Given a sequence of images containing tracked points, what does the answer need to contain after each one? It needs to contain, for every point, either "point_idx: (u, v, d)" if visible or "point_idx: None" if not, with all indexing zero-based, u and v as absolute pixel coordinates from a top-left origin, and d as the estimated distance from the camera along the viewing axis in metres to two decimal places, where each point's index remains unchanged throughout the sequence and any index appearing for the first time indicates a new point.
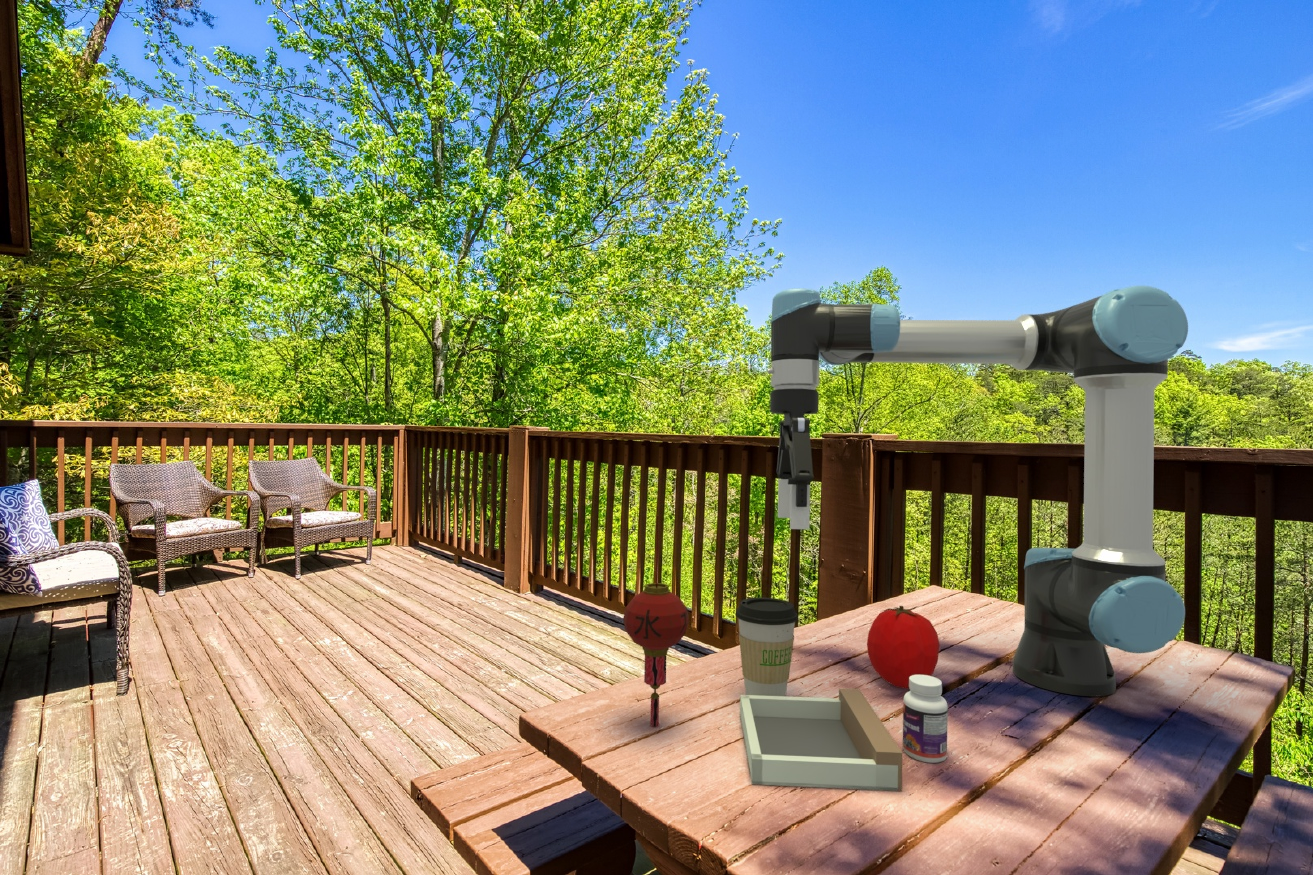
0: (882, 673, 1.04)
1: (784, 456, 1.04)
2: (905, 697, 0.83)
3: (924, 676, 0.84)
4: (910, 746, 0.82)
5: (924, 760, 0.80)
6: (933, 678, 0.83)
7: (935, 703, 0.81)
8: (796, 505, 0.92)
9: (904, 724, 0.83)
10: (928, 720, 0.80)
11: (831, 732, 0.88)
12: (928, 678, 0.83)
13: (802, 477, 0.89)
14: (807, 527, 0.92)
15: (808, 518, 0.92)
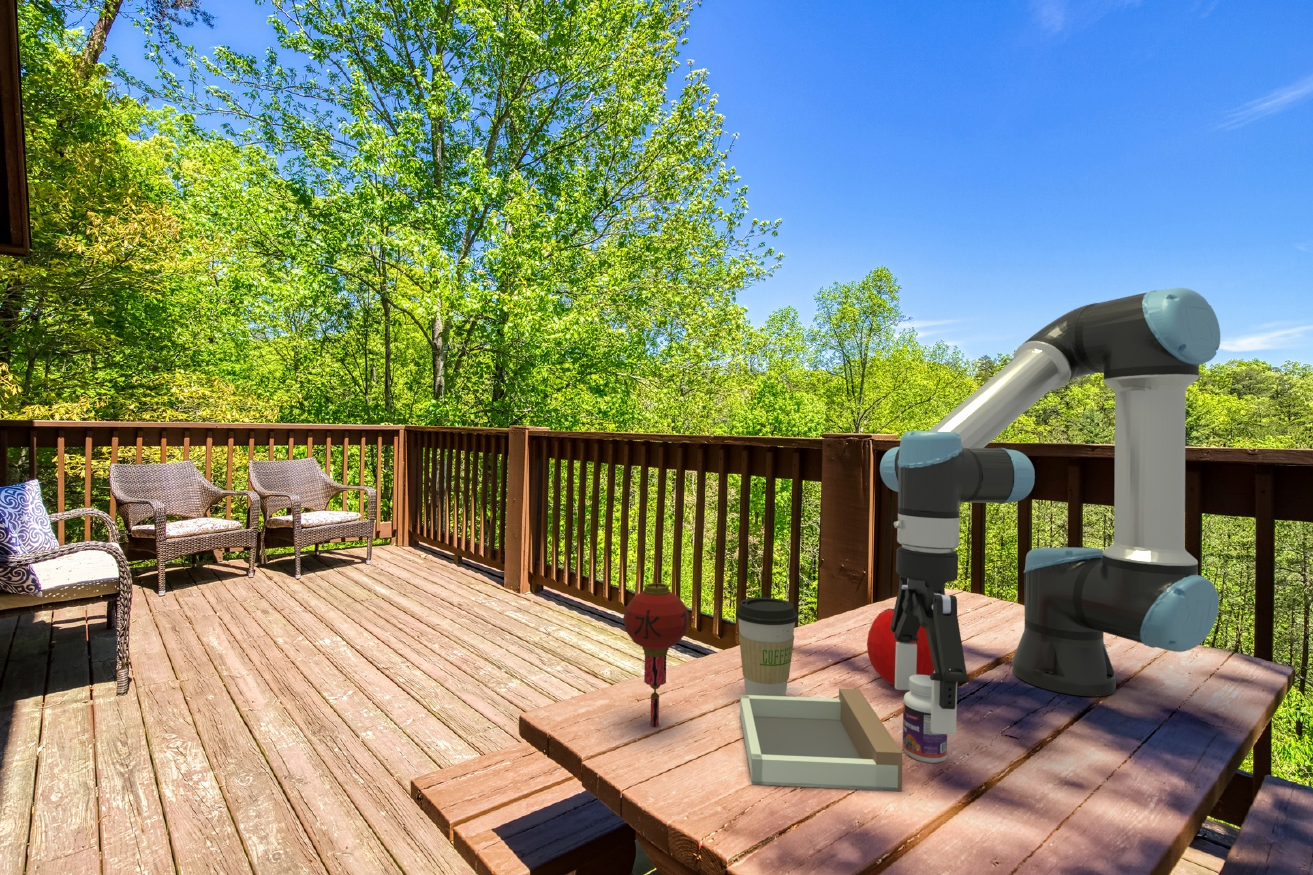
0: (882, 673, 1.04)
1: (907, 620, 0.87)
2: (905, 697, 0.83)
3: (924, 676, 0.84)
4: (910, 746, 0.82)
5: (924, 760, 0.80)
6: None
7: None
8: (941, 705, 0.75)
9: (904, 724, 0.83)
10: (928, 720, 0.80)
11: (831, 732, 0.88)
12: (928, 678, 0.83)
13: (953, 677, 0.73)
14: (953, 732, 0.75)
15: (954, 721, 0.75)
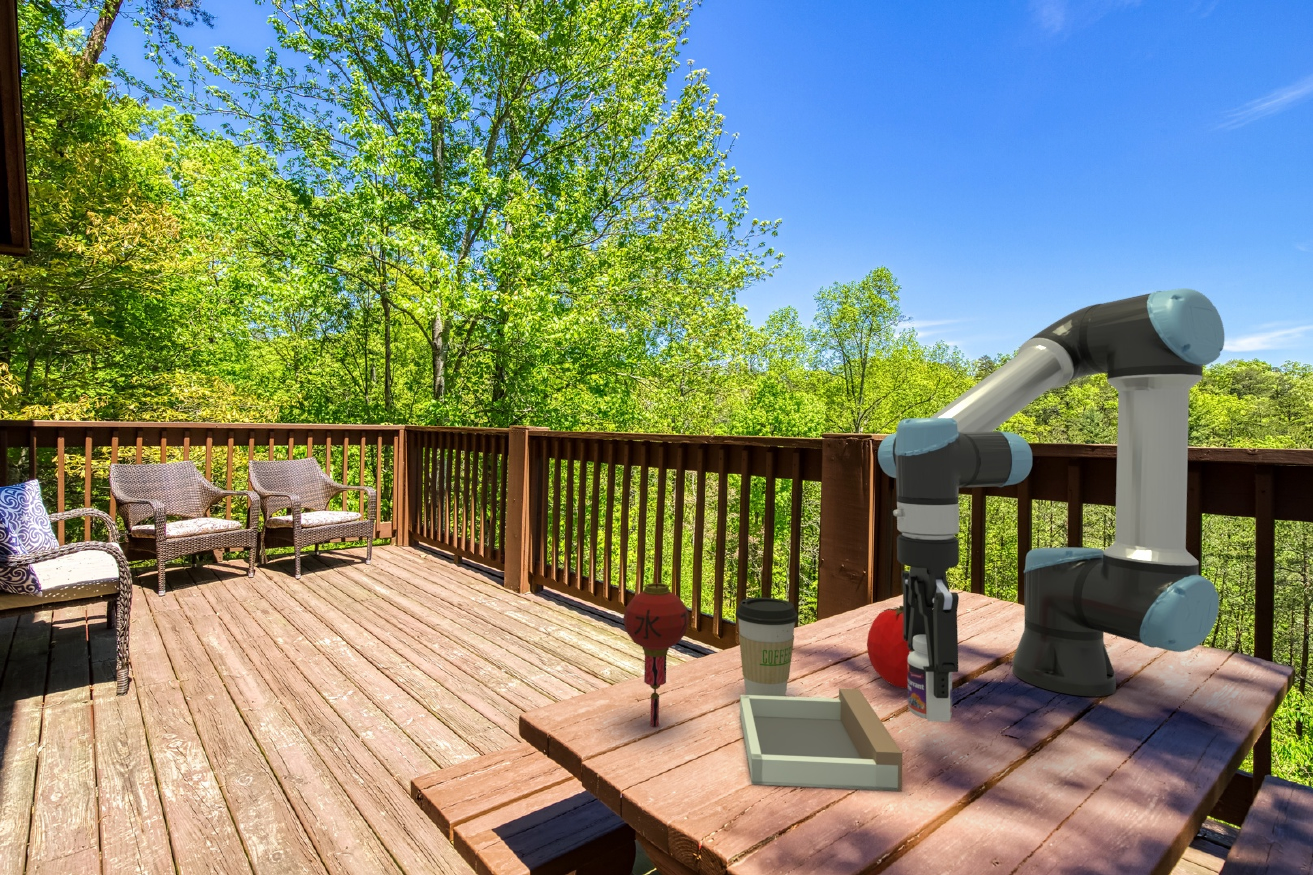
0: (882, 673, 1.04)
1: (916, 618, 0.85)
2: (909, 657, 0.83)
3: None
4: (915, 705, 0.82)
5: None
6: None
7: None
8: (935, 695, 0.79)
9: (909, 683, 0.83)
10: None
11: (831, 732, 0.88)
12: None
13: (945, 670, 0.77)
14: (948, 719, 0.80)
15: (948, 709, 0.80)
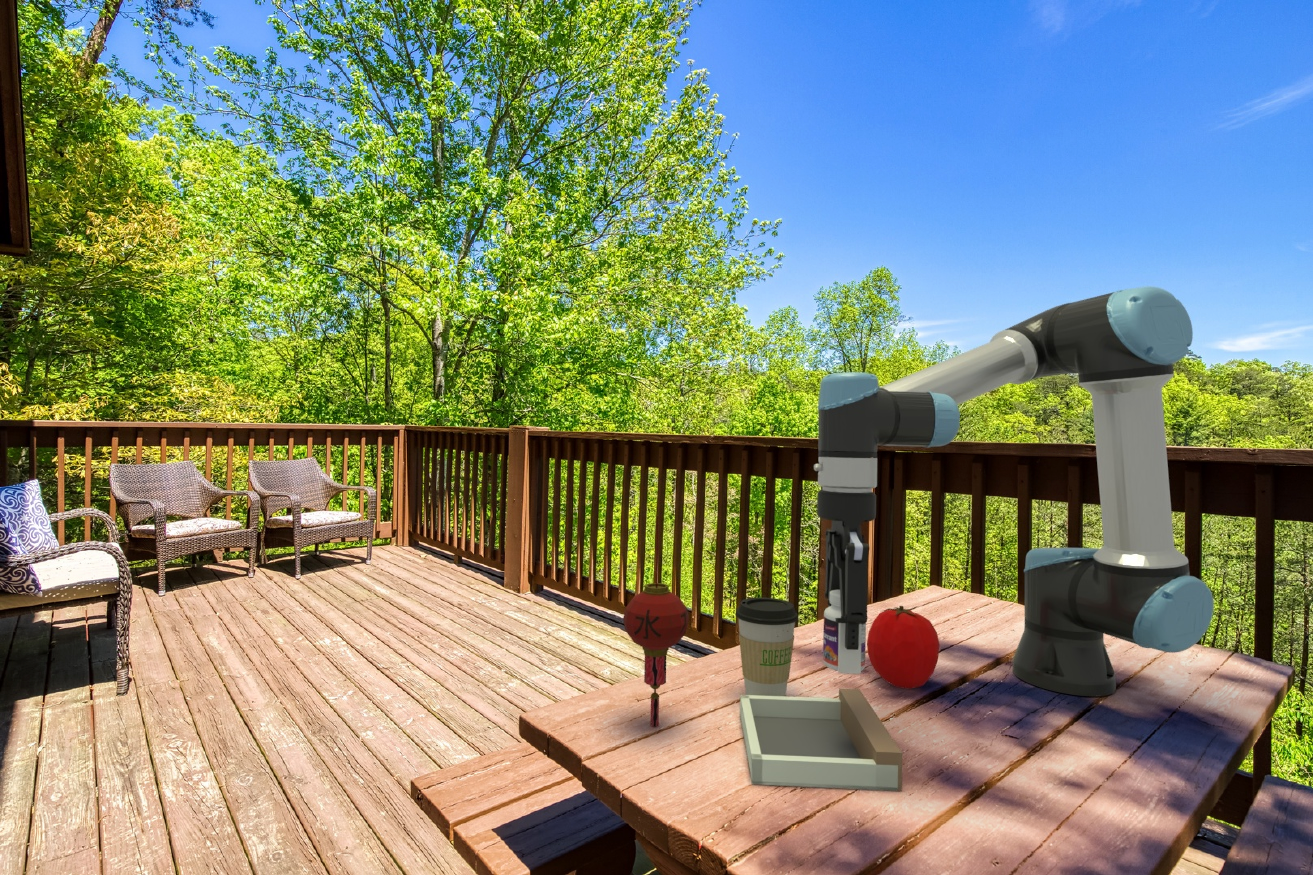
0: (882, 673, 1.04)
1: (835, 573, 0.86)
2: (825, 610, 0.84)
3: None
4: (828, 658, 0.82)
5: None
6: None
7: None
8: (846, 647, 0.80)
9: (824, 637, 0.84)
10: None
11: (831, 732, 0.88)
12: None
13: (854, 620, 0.77)
14: (858, 671, 0.80)
15: (859, 661, 0.80)
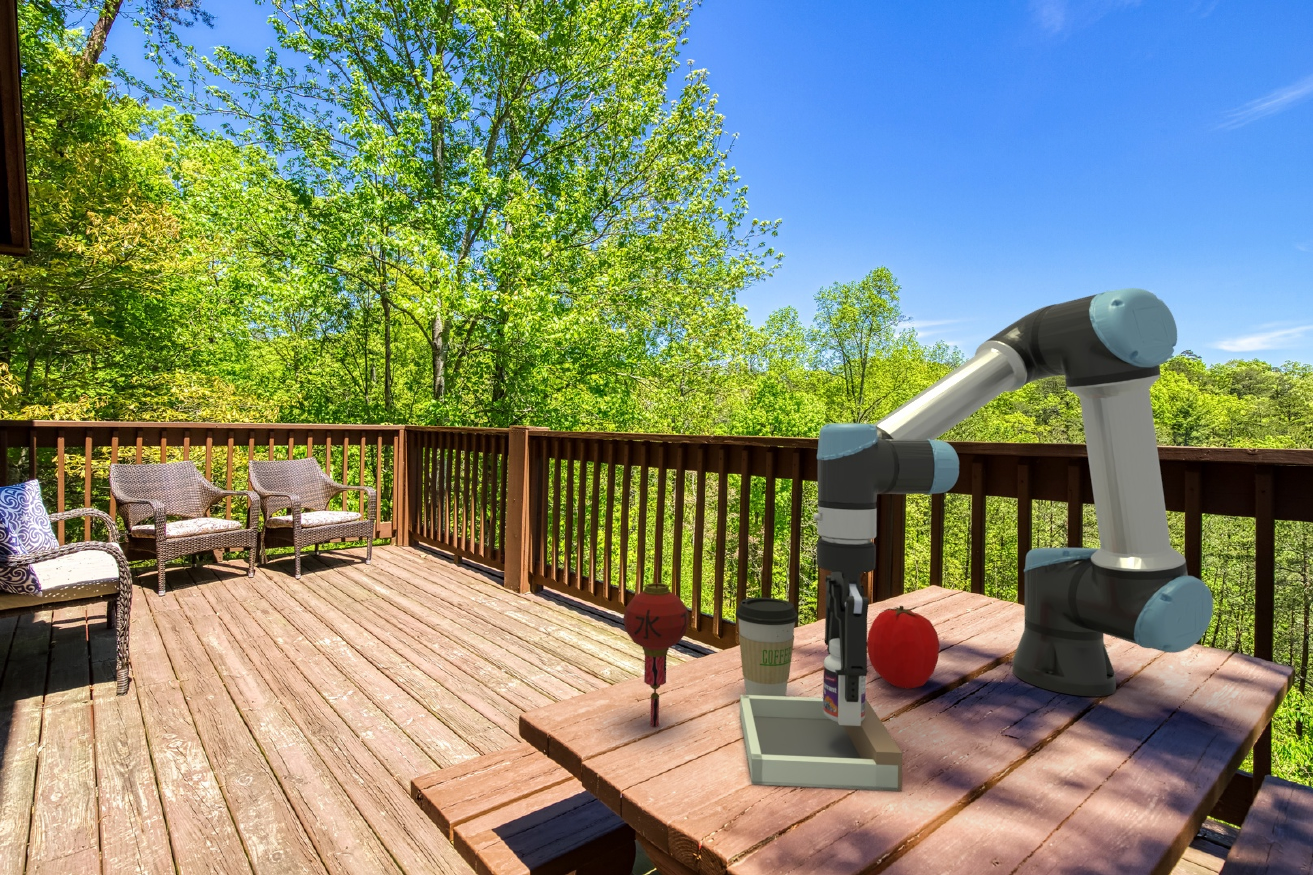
0: (882, 673, 1.04)
1: (835, 622, 0.86)
2: (825, 660, 0.84)
3: None
4: (828, 708, 0.82)
5: None
6: None
7: None
8: (846, 699, 0.80)
9: (823, 686, 0.83)
10: None
11: (831, 732, 0.88)
12: None
13: (854, 674, 0.77)
14: (858, 723, 0.80)
15: (859, 713, 0.80)
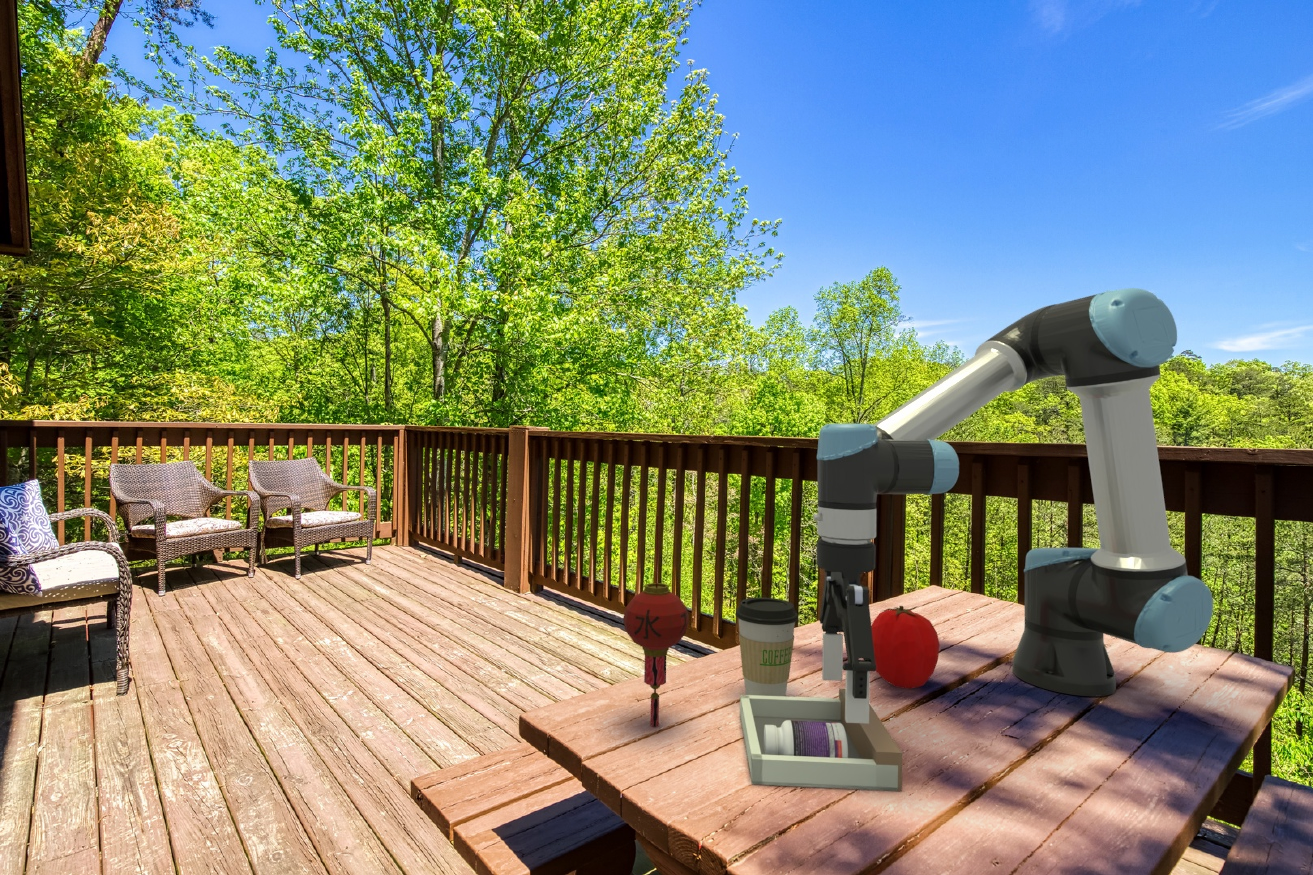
0: (882, 673, 1.04)
1: (831, 612, 0.88)
2: None
3: (765, 737, 0.78)
4: None
5: None
6: (765, 747, 0.77)
7: None
8: (853, 695, 0.76)
9: None
10: None
11: None
12: (765, 743, 0.78)
13: (862, 667, 0.73)
14: (866, 721, 0.76)
15: (867, 710, 0.76)
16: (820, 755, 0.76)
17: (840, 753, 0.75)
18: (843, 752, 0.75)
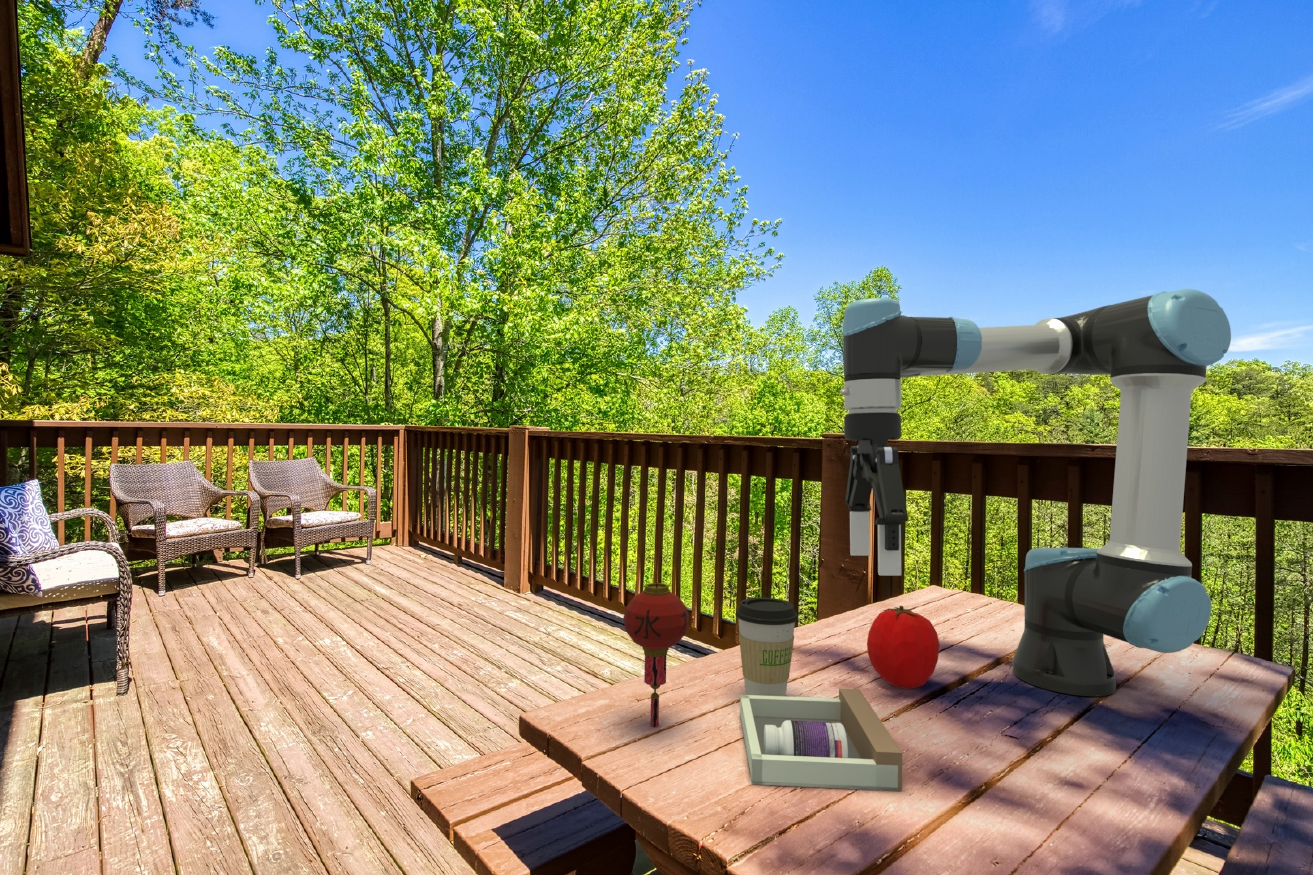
0: (882, 673, 1.04)
1: (858, 487, 0.92)
2: None
3: (765, 737, 0.78)
4: None
5: None
6: (765, 747, 0.77)
7: None
8: (886, 548, 0.80)
9: None
10: None
11: None
12: (765, 743, 0.78)
13: (895, 517, 0.77)
14: (899, 573, 0.80)
15: (899, 562, 0.80)
16: (820, 755, 0.76)
17: (840, 753, 0.75)
18: (843, 752, 0.75)
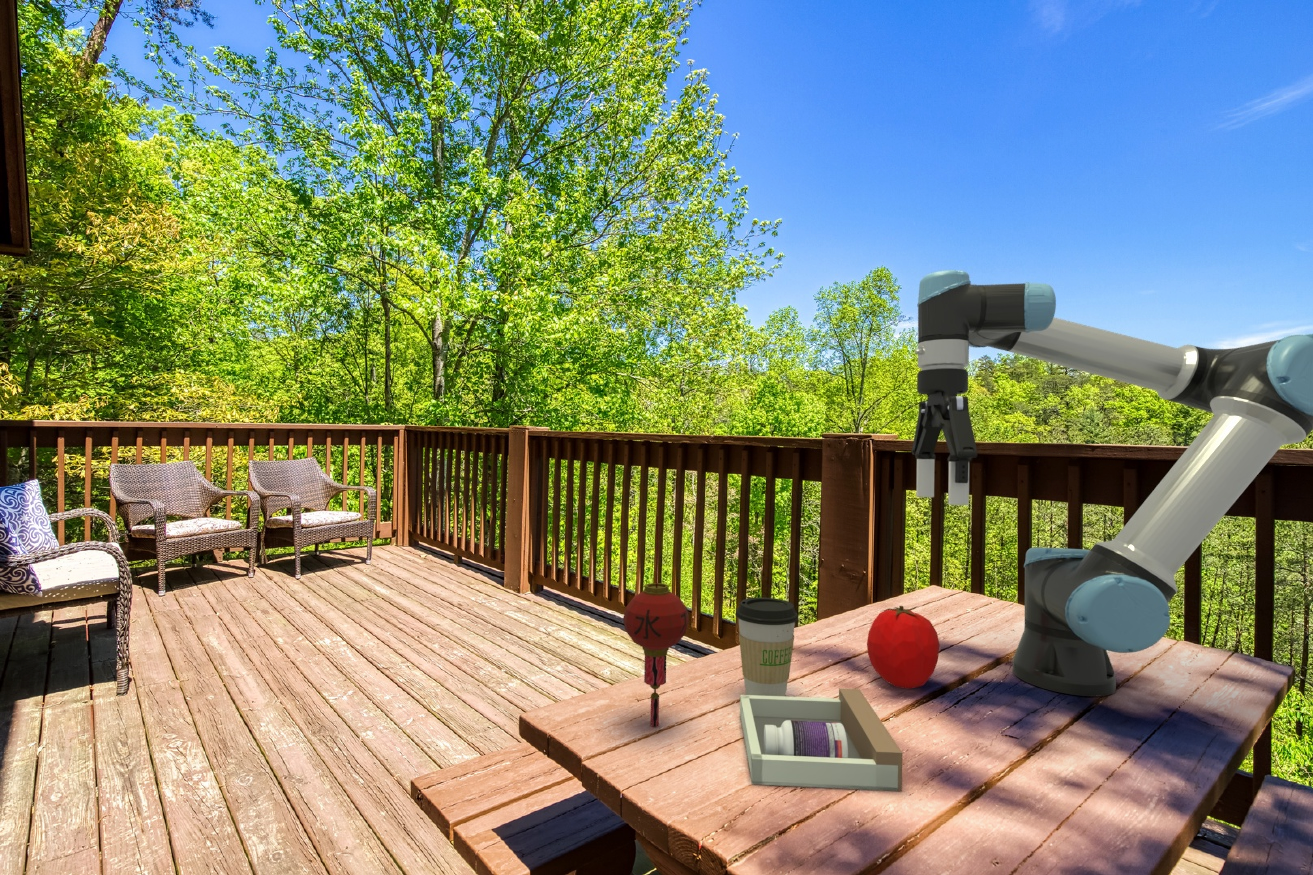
0: (882, 673, 1.04)
1: (927, 436, 1.06)
2: None
3: (765, 737, 0.78)
4: None
5: None
6: (765, 747, 0.77)
7: None
8: (956, 481, 0.94)
9: None
10: None
11: None
12: (765, 743, 0.78)
13: (966, 453, 0.91)
14: (966, 503, 0.94)
15: (967, 494, 0.94)
16: (820, 755, 0.76)
17: (840, 753, 0.75)
18: (843, 752, 0.75)
